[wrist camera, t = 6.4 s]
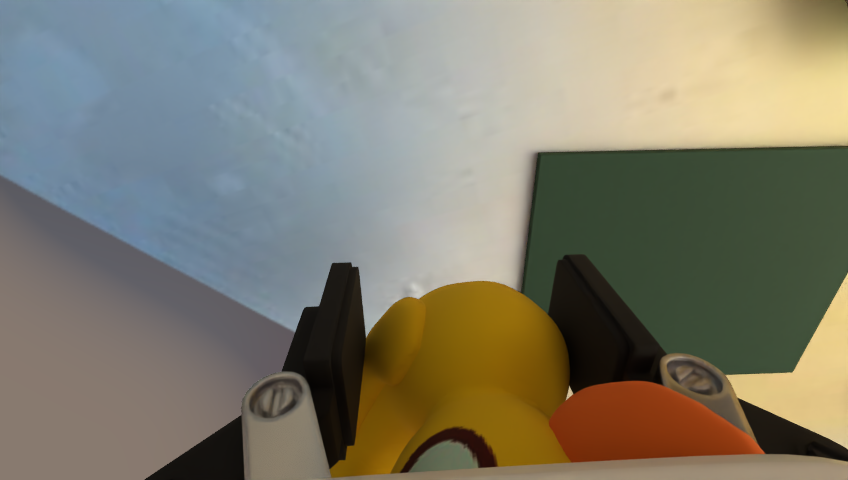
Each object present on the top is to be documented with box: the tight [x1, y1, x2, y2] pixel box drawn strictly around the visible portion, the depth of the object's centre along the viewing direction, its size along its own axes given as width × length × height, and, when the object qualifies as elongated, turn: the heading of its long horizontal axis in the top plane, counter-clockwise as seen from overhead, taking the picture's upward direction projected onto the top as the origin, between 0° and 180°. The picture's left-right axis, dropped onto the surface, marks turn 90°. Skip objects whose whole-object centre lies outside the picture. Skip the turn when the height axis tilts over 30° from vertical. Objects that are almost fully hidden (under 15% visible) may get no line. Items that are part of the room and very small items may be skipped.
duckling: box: [330, 281, 765, 478], centre depth 10 cm, size 11×5×10 cm, turn 139°
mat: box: [521, 146, 848, 375], centre depth 24 cm, size 20×16×1 cm
